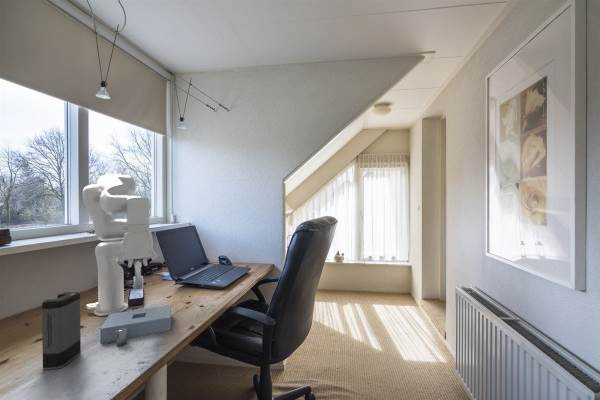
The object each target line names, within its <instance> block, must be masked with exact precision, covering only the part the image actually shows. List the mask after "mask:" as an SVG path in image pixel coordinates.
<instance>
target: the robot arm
mask: <svg viewBox="0 0 600 400" xmlns="http://www.w3.org/2000/svg"><path fill="white" fill-rule="evenodd" d="M136 187H137V185H136V181H135V179H134V178H133V177H132V176H130V175H122V174H104V175H102V176H101V177H99V178H98V180H97V184H90V185H87V186H85V187H84V188H83V190H82V201H83V203H84V206H85V208H86V210H87V211H88V213H89V214H90V216H91V220H92V225H93V229H94V233H95V237H96V238H97V240H99V241H102V242H99V243H98V244H97V245H96V246H95V249H94V252H95V253H94V255H95V258H96V264H97V284H98V285H97V287H98V288H97V290H98V291H97V294H98V297H97V298H98V301H96V302H95V303H87V304H86V309H87V310H90V311H91V310H93V309H94V311H93V314H94V315H95V316H99V317H104V316H109V314H112V313H119V312H125V310H127V309H128V308H129V305H128V303H125V291H124V289H125V287H124V268H123V267H122V266H121V265H120V264H118V262H121V263H123V264H124V265H125V266H127V267H128V275H129V276H130V279H134V267H133V259H143V267H142V276H143V278H144V277H146V275H147V274H148V265H149V264H150V263H151V262H152V261H154V260H157V258H158V257H159V256H158V254H157V252H155V250H154V239H153V234H152V233H153V232H152V231H150V199H149V198H148V197H147V196H140V195H133V193H134V192H135V190H136ZM115 216H126V218H125V219H116V218H115Z"/></svg>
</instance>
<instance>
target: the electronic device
mask: <svg viewBox="0 0 600 400" xmlns="http://www.w3.org/2000/svg"><path fill="white" fill-rule="evenodd" d="M41 325H42V326H41V329H42V331H41V332H42V334H41V335H42V336H41V338H42V342H41V343H42V345H41V346H42V347H41V348H42V369H43V370H59V369H62V368H64V367H65V366H66V365H68V364H69V363H70V362H72V361H73V360H74V359H75V358H77V357H78V356H79V355H80V354H81V352H82V351H81V349H82V348H81V347H82V343H81V334H82V333H81V293H80V292H79V291H71V292H70V291H69V292H62V293H59V294H58V295H57V297H56V298H55V299H54V298H53V299H45V300H44V301H42V302H41Z"/></svg>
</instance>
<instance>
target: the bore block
mask: <svg viewBox="0 0 600 400" xmlns="http://www.w3.org/2000/svg"><path fill="white" fill-rule="evenodd" d="M171 322H172V304H168V305H167V304H166V305H161V306H153V307H148V308H147V307H146V308H142V309H141V308H140V309H134V310H127V311H122V312H119V313H112V314H109V315H107V317H106V319H105V321H104V322H103V323H102V325H101V327H100V328H99V332H100V333H99V337H100V340H99V342H100V344H104V343H108V342H113V341H114V342H116V330H118V329H120V328H127V339H131V338H136V337H141V336H149V335H153V334H158V333H164V332H169V331H171Z"/></svg>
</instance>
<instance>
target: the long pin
mask: <svg viewBox="0 0 600 400" xmlns="http://www.w3.org/2000/svg"><path fill="white" fill-rule="evenodd" d="M143 264H144V262H143V259H133V267H134V277H133V290H142V289H143V288H144V277H143V276H142V267H143Z"/></svg>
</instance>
